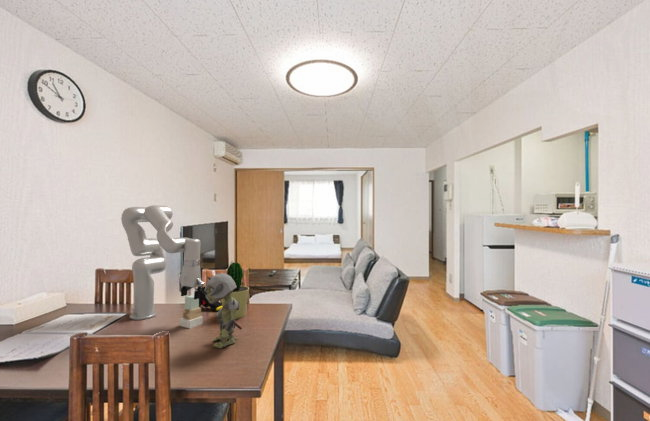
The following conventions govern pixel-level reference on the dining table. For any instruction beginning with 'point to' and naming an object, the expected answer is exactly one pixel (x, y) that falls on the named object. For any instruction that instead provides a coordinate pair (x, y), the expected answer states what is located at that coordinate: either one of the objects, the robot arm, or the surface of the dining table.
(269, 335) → the dining table surface
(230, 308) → the toy
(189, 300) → the sage block
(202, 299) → the toy gun
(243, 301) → the potted cactus
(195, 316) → the tower top
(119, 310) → the dining table surface
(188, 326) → the tower base
